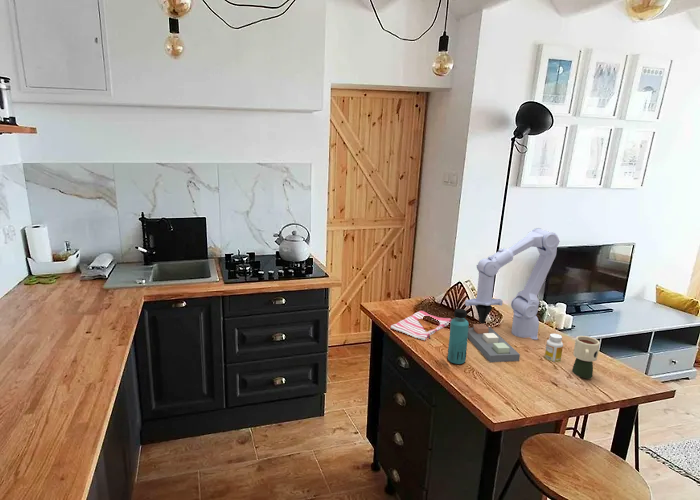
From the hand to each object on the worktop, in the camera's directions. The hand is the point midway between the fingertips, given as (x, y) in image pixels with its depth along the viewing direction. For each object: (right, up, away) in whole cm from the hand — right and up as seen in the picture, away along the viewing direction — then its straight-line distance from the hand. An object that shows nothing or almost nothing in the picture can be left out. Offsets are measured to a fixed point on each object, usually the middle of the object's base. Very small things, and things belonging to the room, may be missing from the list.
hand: (481, 322), depth 176 cm
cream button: (+1, -7, -7) cm, 10 cm away
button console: (+1, -9, -6) cm, 11 cm away
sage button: (+2, -9, -15) cm, 18 cm away
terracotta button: (0, -4, +1) cm, 5 cm away
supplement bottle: (+21, -12, -14) cm, 28 cm away
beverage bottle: (-14, -12, -18) cm, 26 cm away
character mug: (+27, -14, -24) cm, 39 cm away
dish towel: (-22, -5, +12) cm, 25 cm away
